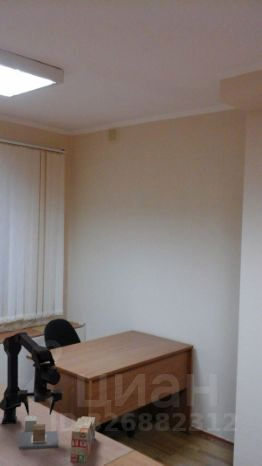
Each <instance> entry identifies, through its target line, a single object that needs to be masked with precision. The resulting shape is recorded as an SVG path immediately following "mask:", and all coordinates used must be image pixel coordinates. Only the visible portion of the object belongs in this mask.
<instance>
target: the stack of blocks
mask: <svg viewBox="0 0 262 466" xmlns="http://www.w3.org/2000/svg"><path fill="white" fill-rule="evenodd" d="M95 439H96V416H81V417H78V418H77V420H76V423H75V425H74V427H73V428H72V431H71V442H70V449H71V451H70V461H69V462H71V463H72V462H73V463H84V464H86V463H87V461H88V458H89V456H90V453H91V448H92V446H93V445H94V442H95Z"/></svg>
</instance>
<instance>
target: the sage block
mask: <svg viewBox="0 0 262 466" xmlns="http://www.w3.org/2000/svg"><path fill="white" fill-rule="evenodd" d="M34 424H37V416H36V415H35V416H34V415H27V416H25V417H24V432H33V427H34Z"/></svg>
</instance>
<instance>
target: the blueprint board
mask: <svg viewBox="0 0 262 466" xmlns="http://www.w3.org/2000/svg"><path fill="white" fill-rule="evenodd" d="M19 435H20V437H19V441H18V442H19V443H18V444H19V445H18V450H30V449H32V450H33V449H48V448H49V449H50V448H59V435H58V430H54V431H53V430H51V431H50V430H49V431H48V430H45V441H33V432H25V431H24V432H21V431H20V434H19Z"/></svg>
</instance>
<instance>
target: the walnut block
mask: <svg viewBox="0 0 262 466" xmlns="http://www.w3.org/2000/svg"><path fill="white" fill-rule="evenodd" d="M45 431H46V423H39V424H37V423H36V424H34V427H33V441H45Z"/></svg>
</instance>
